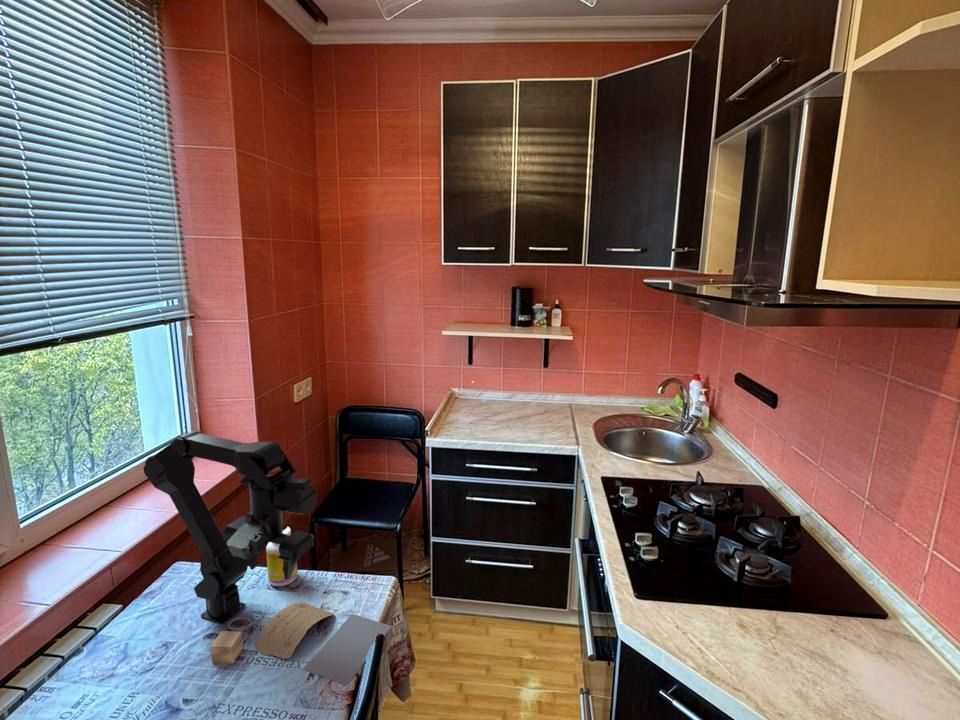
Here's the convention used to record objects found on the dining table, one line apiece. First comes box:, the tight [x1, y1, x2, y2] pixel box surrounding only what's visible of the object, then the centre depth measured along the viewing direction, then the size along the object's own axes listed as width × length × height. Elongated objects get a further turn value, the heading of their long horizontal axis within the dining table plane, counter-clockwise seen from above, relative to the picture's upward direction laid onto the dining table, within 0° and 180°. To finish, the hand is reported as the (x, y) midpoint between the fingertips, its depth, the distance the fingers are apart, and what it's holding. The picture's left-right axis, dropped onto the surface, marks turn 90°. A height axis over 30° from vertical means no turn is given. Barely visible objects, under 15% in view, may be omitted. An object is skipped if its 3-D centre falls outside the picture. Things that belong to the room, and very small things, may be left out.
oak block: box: [210, 630, 244, 664], centre depth 96 cm, size 4×4×4 cm
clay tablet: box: [253, 602, 335, 659], centre depth 103 cm, size 14×10×3 cm
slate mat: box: [302, 613, 393, 686], centre depth 99 cm, size 10×16×1 cm, turn 160°
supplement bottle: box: [265, 526, 298, 587], centre depth 119 cm, size 7×7×13 cm
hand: (270, 573), depth 102 cm, fingers open, 9 cm apart
